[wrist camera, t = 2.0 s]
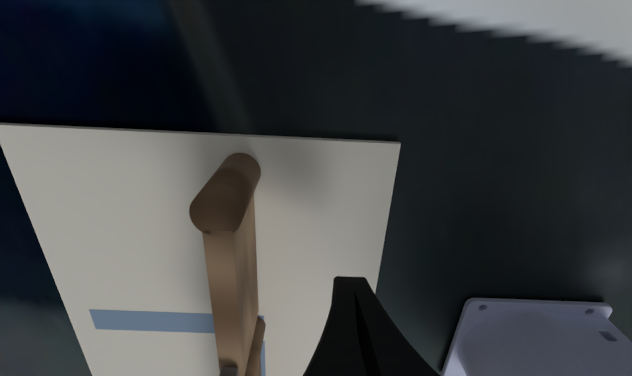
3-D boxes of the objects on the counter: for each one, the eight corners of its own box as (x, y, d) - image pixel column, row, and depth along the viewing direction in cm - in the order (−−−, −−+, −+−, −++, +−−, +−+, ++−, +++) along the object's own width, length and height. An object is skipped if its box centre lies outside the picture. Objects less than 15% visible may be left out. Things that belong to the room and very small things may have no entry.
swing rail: (265, 336, 21) (250, 424, 16) (236, 335, 21) (212, 423, 16) (260, 153, 15) (235, 203, 11) (220, 151, 15) (176, 201, 11)
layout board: (398, 141, 16) (400, 144, 15) (352, 418, 26) (352, 423, 26) (0, 122, 15) (-8, 124, 15) (111, 411, 25) (108, 416, 25)
